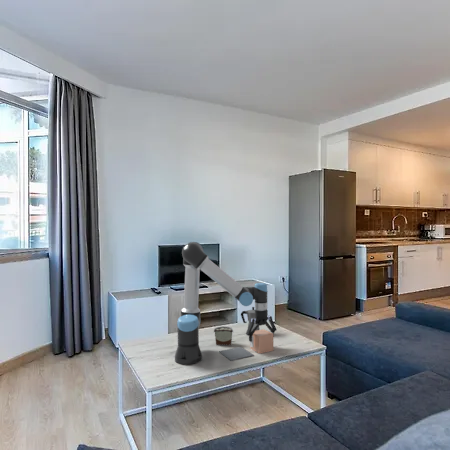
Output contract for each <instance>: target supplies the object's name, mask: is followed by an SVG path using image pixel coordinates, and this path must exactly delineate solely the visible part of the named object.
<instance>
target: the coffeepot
mask: <svg viewBox="0 0 450 450" xmlns="http://www.w3.org/2000/svg"><path fill="white" fill-rule="evenodd" d="M245 315H246V317H247V321H246V320H245ZM240 316H241V319H242V322H243V323H244V324H247V323H248V325H247V328H248V327H249V324H250V320H251V318H252V319H255V306H252V307H251V309H249V310H242V311H241V313H240ZM255 322H256V321H255ZM255 322H254V324H255ZM253 326H254V325H253ZM257 330H261V329H260V326H259V327H257V329H256V331H257Z"/></svg>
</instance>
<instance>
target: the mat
mask: <svg viewBox="0 0 450 450" xmlns="http://www.w3.org/2000/svg"><path fill="white" fill-rule="evenodd" d="M218 353H219V354H221V356H223V357H224V358H226V359H227V360H229V361H230V362H231V361H237V360H241V359H246V358H249V357H250V358H251V357H254V356H255V354H253V353H252V352H250V351H248V350H247V349H245V348H243V347H242V346H237V347H233V348H228V349H223V350H218Z"/></svg>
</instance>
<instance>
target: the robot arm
mask: <svg viewBox="0 0 450 450" xmlns="http://www.w3.org/2000/svg"><path fill="white" fill-rule="evenodd" d="M181 254H182V255H181V256H182V258H183V259H182V265H183V266H184V267H185V270H184V271H185V272H184V291H183V292H184V295H183V307H182V308H181V309H180V316H179V317H178V318H177V322H176V323H177V324H176V325H177V347H176V351H175V355H174V362H176V363H177V364H180V365H194V364H198V363H200V362H201V361H202V360H203V353H202V351H201V347H200V345H199V343H200V341H199V340H200V339H199V338H200V337H199V334H200V333H199V330H200V327H201V326H200V325H201V323H202V322H201V309H200V308H199V295H200V294H199V293H200V272H203V273H204V274H205V275H207V276H208V277H209V278H210V279H211V280H212V281H214V282H215V283H216V284H217V285H219V286H220V287H221V288H222V289H224V290H225V291H226V292H227V293H229V294H230V296H232V297H234V299H235V300H237V301H238V302H239V304H240V305H241V306H244V307H249V306H251V305H252V304H253V301H254V310H255V319H252V318H251V320H250V324H249V327H248V326H247V330H246V333H245V335H246V336H248V341H249V344H250V346H251V347H254V336H252V335H253V334H254V332H255V331H256V329H257V327H259V328H260V326H266V327H267V329H268V330H269V332H271V333H273V338H274V337H275V335H274V334H275V333H276V331H277V329H278V328H276V325H275V323H274V320H273V317H272V316H271V315H268V311H269V310H268V285H267V283H265V282H256V283H255V284H254V286H242V285H241V284H240V283H239V282H238V281H236V280H235V279H234V278H232V276H230V275H229V274H227V272H225V270H223V269H221V267H219V266H218V265H217V264H216V263H214V262H213V261H212V260H211V259H210V258H209V255H208V254H206V253H205V250H204V247H203V246H202V244H201V243H199V242H197V241H190V242H188V243H187V244H186V245H184V246H183V248H182V251H181ZM255 321H256V322H255ZM254 322H255V324H254ZM253 325H254V326H253ZM250 346H249V347H250Z"/></svg>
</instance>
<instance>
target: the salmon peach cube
mask: <svg viewBox="0 0 450 450" xmlns="http://www.w3.org/2000/svg"><path fill="white" fill-rule="evenodd" d="M252 336H254V347H251V346H249V349H251V350H252V351H255V353H258V354H264V353H268V352H274V337H273V333H271V331H270V330H269V331H268V330H266V329H264V328H263V329H260V330H257V331H255V332H254V334H253V335H252Z"/></svg>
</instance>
